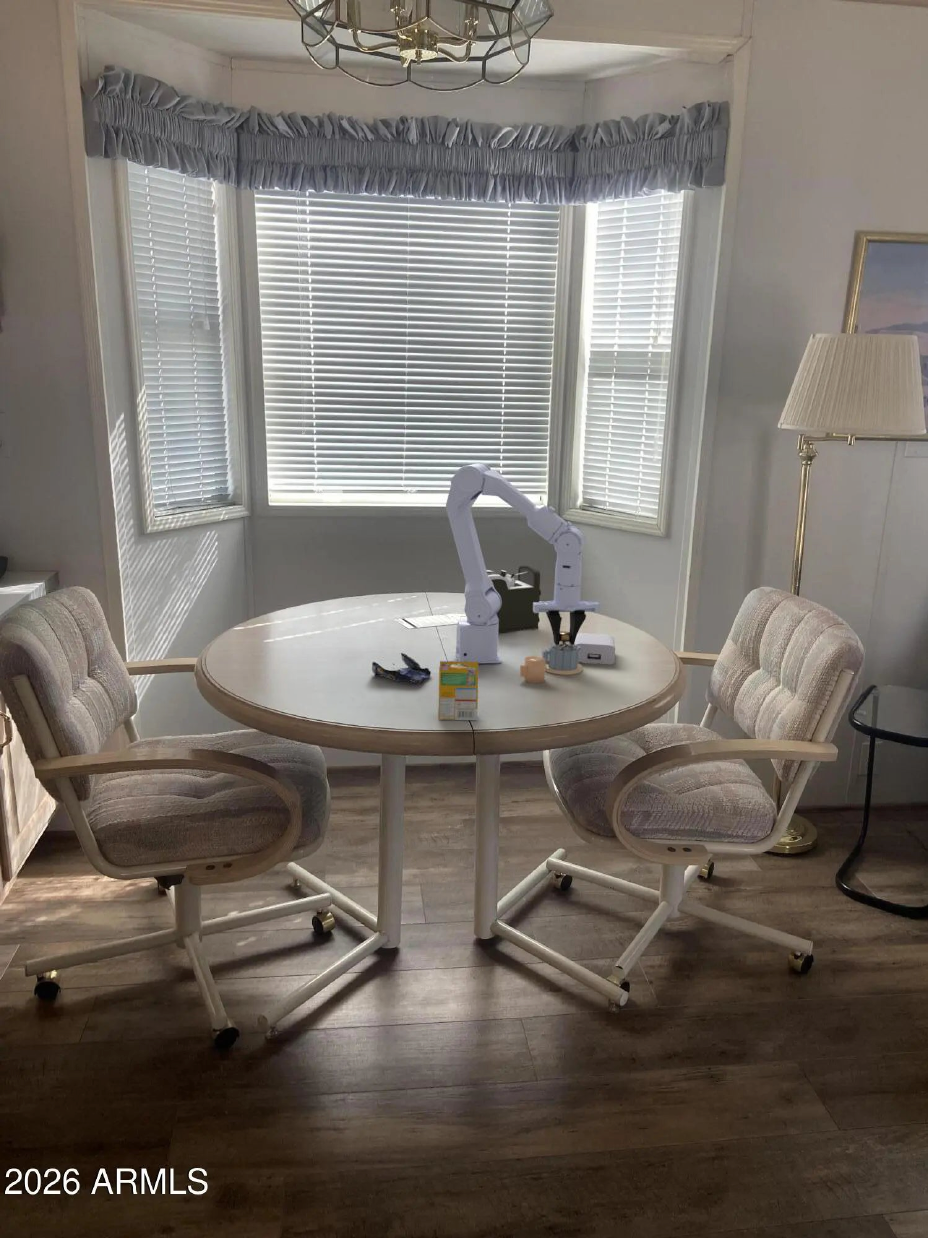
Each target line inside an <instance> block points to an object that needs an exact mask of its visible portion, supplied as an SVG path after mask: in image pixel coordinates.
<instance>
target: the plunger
mask: <svg viewBox="0 0 928 1238" xmlns="http://www.w3.org/2000/svg"><path fill="white" fill-rule="evenodd" d="M569 641H571V633H570V632H569V631H567V630H566V631H563V630H562V631H561V630H560V642H562V646H563V647H565V645H566V642H569Z"/></svg>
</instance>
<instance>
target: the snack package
mask: <svg viewBox="0 0 928 1238" xmlns="http://www.w3.org/2000/svg"><path fill="white" fill-rule="evenodd" d="M400 655H401V660H402V662H403V663H404V664H405V666H407V667H403V668H397V669H395V668H392V669H393V670H390V669H386V668H383V666H381V665H380V664H379V663H377V662H376V661H372V663H371V666H372V667H371V672H372V673H373V675H374V676H375V677H376V676H381V677H385V678H387V679H391V680H393V681H398V682H408V681H411V682H412V683H416V684H417V685H419V684H420V682H421V681H422V682H423V681H424V682H425V681H426V680H427V681H428V680H429V678H430V677H431V674H432V672H431V671H430V669H429V668H428V667H425V668H424V667H423V668H422V667H421V665H420V664H419V663H418V662H417V661H416V660H415V659H414V658H412V657H410V656H408V655H407V654H406V653H403V652H401V653H400ZM392 665H394V666H395V663H392Z"/></svg>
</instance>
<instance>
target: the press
mask: <svg viewBox="0 0 928 1238" xmlns="http://www.w3.org/2000/svg"><path fill="white" fill-rule="evenodd" d="M579 650H581V647H580V646H577V645H576V644H574V645H571V644H570V643H569V642H566V645H565V647H563V646H562V641H560V642H559V645H556V644H555V643H554V642H552V643H551V644H549V645H548V649H542V650H541V657H543V658H545V659H546V666H545V672H547V673H550V674H553V675H560V676H571V675H578V674H581V673H582V672H583V670H584V668H583V665H582V664H580V663H579V662H578V652H579Z"/></svg>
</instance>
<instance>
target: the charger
mask: <svg viewBox="0 0 928 1238" xmlns="http://www.w3.org/2000/svg"><path fill="white" fill-rule="evenodd" d="M574 644H576V645H577V646H580V647H581V650H579V652H578V663H580V662H584V663H583V664H596V663H600V665H613V664H615V659H616V645H615V638H614V637H613V636H612V635H610V634H605V633H604V634H603V633H602V634H601V633H586V632H580V633H579V632H578V633H577V636H576V639H575V643H574Z"/></svg>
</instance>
